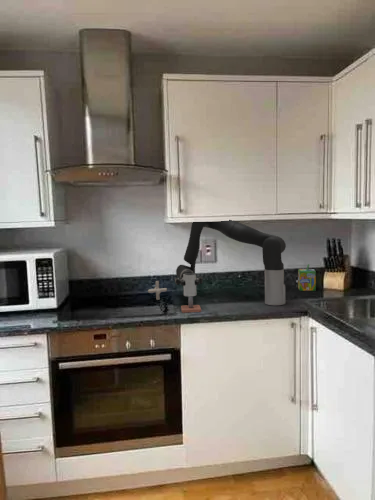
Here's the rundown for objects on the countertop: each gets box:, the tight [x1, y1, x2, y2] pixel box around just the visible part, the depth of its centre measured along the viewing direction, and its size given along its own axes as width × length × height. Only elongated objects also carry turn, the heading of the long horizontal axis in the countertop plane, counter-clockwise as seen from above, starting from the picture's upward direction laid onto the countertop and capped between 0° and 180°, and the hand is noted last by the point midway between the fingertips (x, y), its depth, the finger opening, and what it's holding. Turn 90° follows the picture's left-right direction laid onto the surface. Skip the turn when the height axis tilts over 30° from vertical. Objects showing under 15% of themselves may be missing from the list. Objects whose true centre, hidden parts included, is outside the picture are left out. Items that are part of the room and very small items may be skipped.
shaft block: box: [180, 296, 202, 314], centre depth 178 cm, size 9×9×6 cm
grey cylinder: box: [183, 272, 198, 297], centre depth 178 cm, size 6×6×10 cm
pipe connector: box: [147, 280, 168, 301], centre depth 203 cm, size 10×10×10 cm
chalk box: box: [297, 263, 317, 292], centre depth 215 cm, size 9×9×15 cm
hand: (190, 283), depth 175 cm, fingers closed on grey cylinder, 6 cm apart
